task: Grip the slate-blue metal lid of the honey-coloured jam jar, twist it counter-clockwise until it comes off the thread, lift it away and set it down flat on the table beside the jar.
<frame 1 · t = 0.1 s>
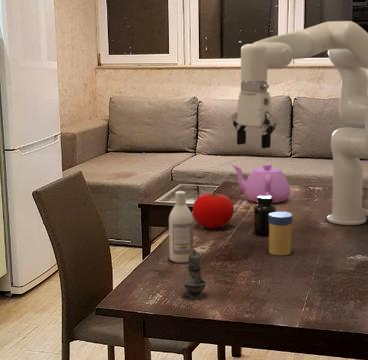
hand: (253, 145, 218), 31 cm above the table, tool pointing down, fingers open, 9 cm apart
tomato: (213, 227, 248), on the table
jar: (279, 252, 219), on the table
lid: (280, 215, 217), point 11 cm above the table, screwed on, not yet turned
bath foam: (181, 260, 215), on the table
dark grey figurine: (194, 296, 186), on the table
teapot: (260, 200, 283), on the table
supplement bottle: (264, 234, 239), on the table
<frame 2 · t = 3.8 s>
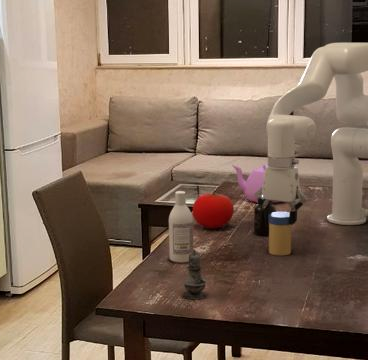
hand: (280, 221, 217), 9 cm above the table, tool pointing down, fingers closed on lid, 6 cm apart
lid: (280, 215, 217), point 11 cm above the table, screwed on, not yet turned, touching gripper
everything else where it was.
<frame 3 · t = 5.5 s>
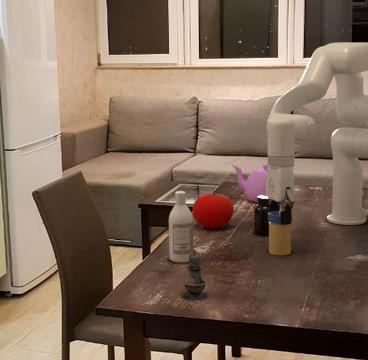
hand: (280, 220, 217), 10 cm above the table, tool pointing down, fingers closed on lid, 6 cm apart
lid: (280, 214, 217), point 11 cm above the table, turned 137° so far, risen 0.4 cm, still on its thread, touching gripper
everything else where it was.
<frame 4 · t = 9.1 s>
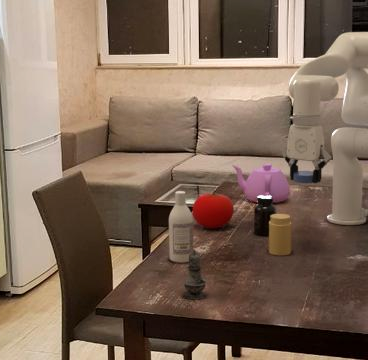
hand: (305, 180, 219), 20 cm above the table, tool pointing down, fingers closed on lid, 6 cm apart
lid: (305, 174, 219), point 22 cm above the table, off its thread, touching gripper
everything else where it was.
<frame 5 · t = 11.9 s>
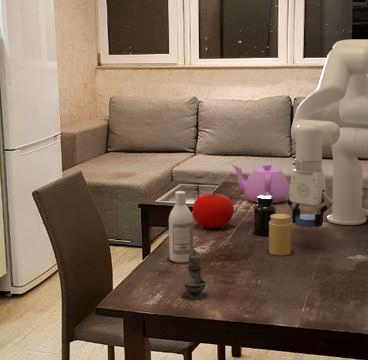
hand: (307, 223, 223), 7 cm above the table, tool pointing down, fingers closed on lid, 6 cm apart
lid: (307, 217, 222), point 9 cm above the table, off its thread, touching gripper
everything else where it was.
when the fingers open (0 cm above the table, at t = 14.5 s): lid stays where it is, point 2 cm above the table.
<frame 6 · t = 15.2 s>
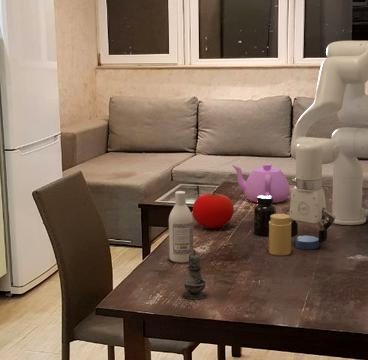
hand: (307, 239, 224), 2 cm above the table, tool pointing down, fingers open, 9 cm apart
lid: (306, 239, 224), point 2 cm above the table, off its thread
everything else where it was.
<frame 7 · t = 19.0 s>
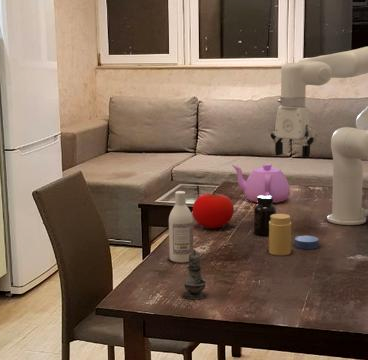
hand: (292, 156, 237), 24 cm above the table, tool pointing down, fingers open, 9 cm apart
nothing on the table moved.
at the end: lid came off its thread; lid point 1.9 cm above the table; the gripper is holding nothing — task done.
